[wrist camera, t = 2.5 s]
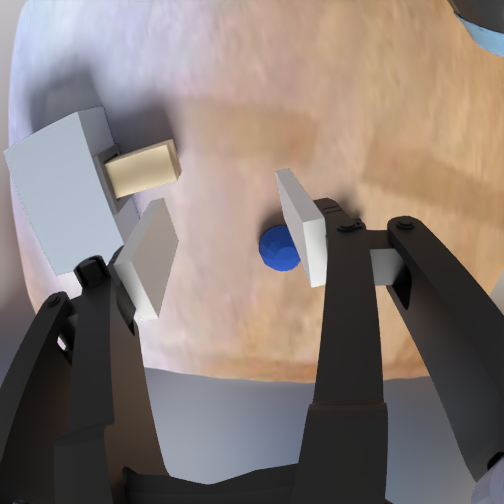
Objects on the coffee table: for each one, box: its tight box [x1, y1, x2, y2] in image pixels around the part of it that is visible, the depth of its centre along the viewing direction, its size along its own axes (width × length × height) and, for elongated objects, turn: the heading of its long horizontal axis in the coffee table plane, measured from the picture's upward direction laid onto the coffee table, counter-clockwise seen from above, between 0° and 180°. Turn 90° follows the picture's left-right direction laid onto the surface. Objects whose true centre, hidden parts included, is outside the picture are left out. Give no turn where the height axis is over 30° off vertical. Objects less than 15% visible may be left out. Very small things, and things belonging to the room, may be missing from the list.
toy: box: [259, 219, 361, 271], centre depth 42 cm, size 7×6×15 cm
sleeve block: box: [4, 106, 140, 276], centre depth 34 cm, size 18×13×8 cm
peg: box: [104, 139, 182, 198], centre depth 34 cm, size 4×16×4 cm, turn 102°
